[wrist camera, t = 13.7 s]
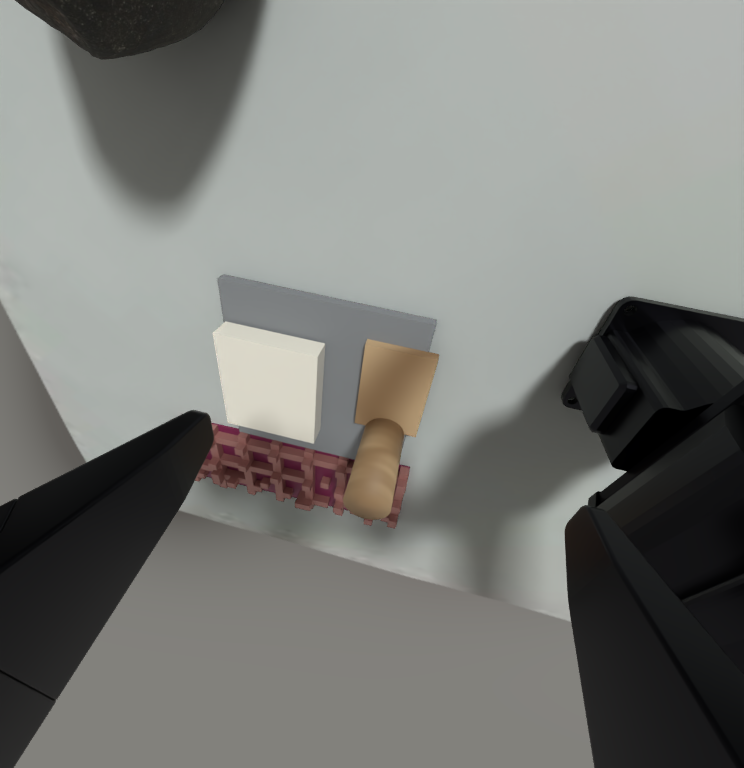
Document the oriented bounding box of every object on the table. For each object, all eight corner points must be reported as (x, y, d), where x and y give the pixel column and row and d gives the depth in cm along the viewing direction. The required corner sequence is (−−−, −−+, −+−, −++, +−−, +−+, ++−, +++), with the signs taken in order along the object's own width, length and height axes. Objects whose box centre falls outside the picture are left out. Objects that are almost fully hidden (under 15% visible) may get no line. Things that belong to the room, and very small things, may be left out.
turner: (438, 354, 20) (431, 431, 15) (411, 446, 24) (399, 527, 20) (367, 338, 20) (338, 409, 15) (354, 433, 25) (329, 509, 20)
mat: (436, 319, 19) (436, 325, 19) (397, 463, 27) (396, 470, 26) (223, 274, 20) (217, 278, 20) (243, 426, 28) (239, 431, 27)
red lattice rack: (175, 409, 29) (159, 426, 27) (410, 461, 27) (407, 482, 26) (194, 466, 33) (181, 484, 32) (397, 514, 32) (393, 535, 30)
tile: (317, 356, 19) (212, 333, 20) (313, 443, 24) (227, 422, 24) (326, 342, 21) (226, 320, 21) (320, 427, 25) (238, 407, 25)
